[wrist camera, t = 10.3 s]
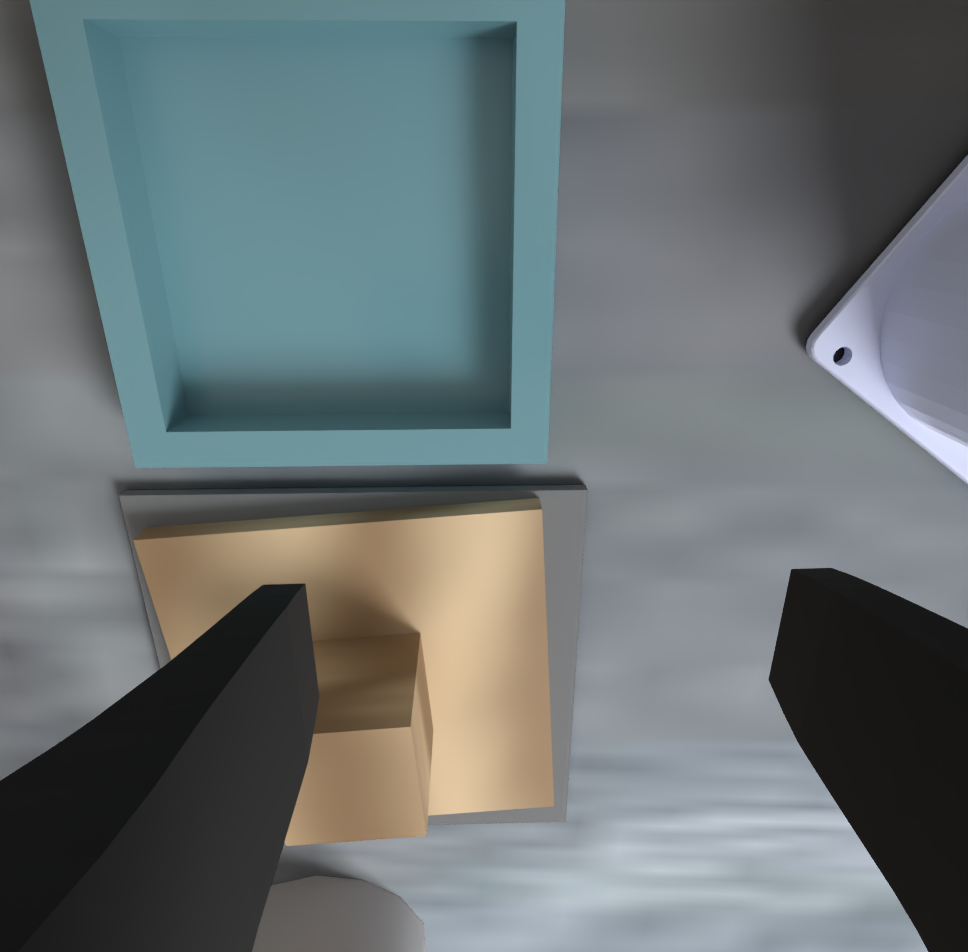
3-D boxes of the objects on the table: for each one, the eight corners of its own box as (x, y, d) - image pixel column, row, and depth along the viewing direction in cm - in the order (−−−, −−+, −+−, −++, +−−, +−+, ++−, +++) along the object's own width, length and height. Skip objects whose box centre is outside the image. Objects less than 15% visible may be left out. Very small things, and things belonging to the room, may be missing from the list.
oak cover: (539, 498, 20) (560, 582, 15) (551, 787, 24) (570, 918, 20) (145, 527, 20) (52, 621, 15) (233, 811, 24) (181, 946, 20)
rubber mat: (585, 484, 20) (587, 489, 20) (564, 812, 25) (565, 821, 25) (125, 490, 20) (118, 495, 19) (203, 821, 25) (199, 830, 25)
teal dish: (554, -7, 15) (566, -37, 13) (539, 438, 19) (547, 463, 17) (75, -10, 15) (20, -41, 13) (167, 442, 19) (134, 468, 17)
